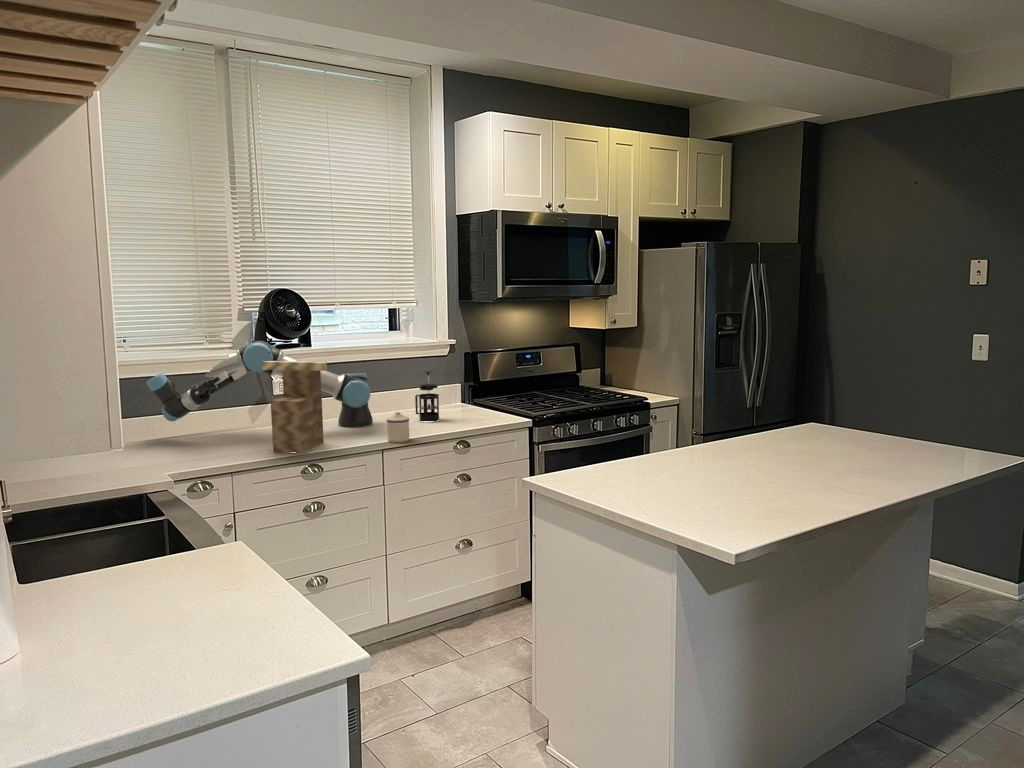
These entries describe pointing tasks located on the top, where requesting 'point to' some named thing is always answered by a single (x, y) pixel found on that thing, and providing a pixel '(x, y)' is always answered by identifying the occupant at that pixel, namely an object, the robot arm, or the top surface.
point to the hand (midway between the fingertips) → (236, 371)
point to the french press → (426, 415)
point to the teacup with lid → (398, 428)
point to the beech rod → (294, 365)
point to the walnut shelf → (298, 412)
